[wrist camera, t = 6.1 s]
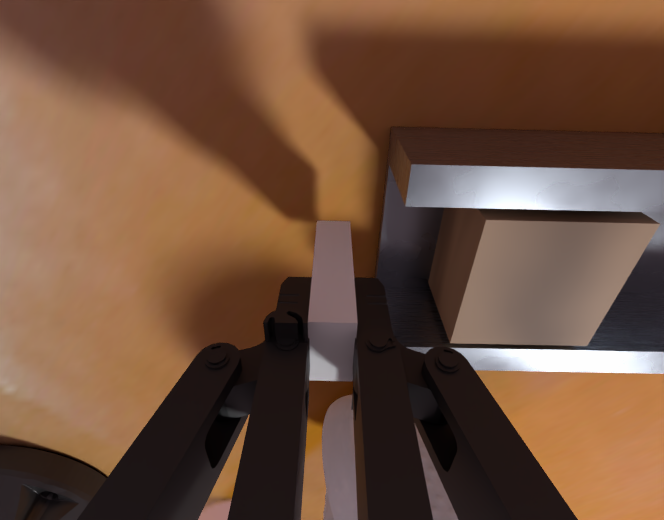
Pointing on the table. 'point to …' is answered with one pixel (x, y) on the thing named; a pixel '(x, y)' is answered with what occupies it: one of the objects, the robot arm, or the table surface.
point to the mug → (343, 472)
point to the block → (532, 272)
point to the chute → (522, 193)
